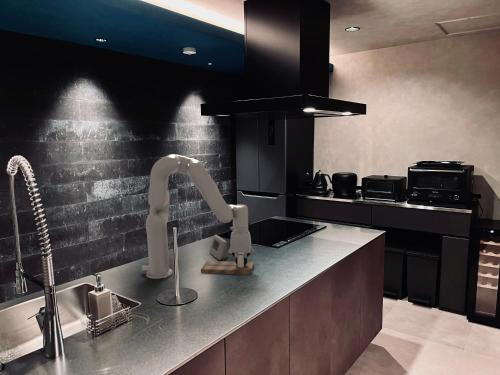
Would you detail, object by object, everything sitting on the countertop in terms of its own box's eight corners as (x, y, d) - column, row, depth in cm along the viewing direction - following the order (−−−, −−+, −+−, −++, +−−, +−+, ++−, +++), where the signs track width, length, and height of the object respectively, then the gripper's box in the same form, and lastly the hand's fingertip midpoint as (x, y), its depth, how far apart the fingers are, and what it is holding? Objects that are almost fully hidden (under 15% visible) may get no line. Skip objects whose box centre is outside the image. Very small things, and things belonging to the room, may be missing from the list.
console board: (201, 272, 190) (200, 268, 190) (206, 264, 202) (206, 260, 201) (250, 274, 187) (250, 270, 186) (253, 266, 198) (253, 262, 198)
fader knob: (237, 267, 191) (237, 255, 190) (239, 263, 196) (238, 252, 195) (243, 267, 190) (243, 255, 189) (245, 263, 195) (244, 252, 194)
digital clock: (208, 252, 222) (208, 234, 220) (224, 251, 224) (223, 233, 223) (213, 261, 206) (212, 242, 205) (229, 260, 209) (229, 241, 207)
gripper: (222, 231, 188) (224, 267, 190) (256, 231, 185) (256, 268, 188) (225, 227, 195) (226, 262, 198) (257, 228, 193) (258, 263, 195)
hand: (241, 264), depth 193 cm, fingers closed on fader knob, 3 cm apart
